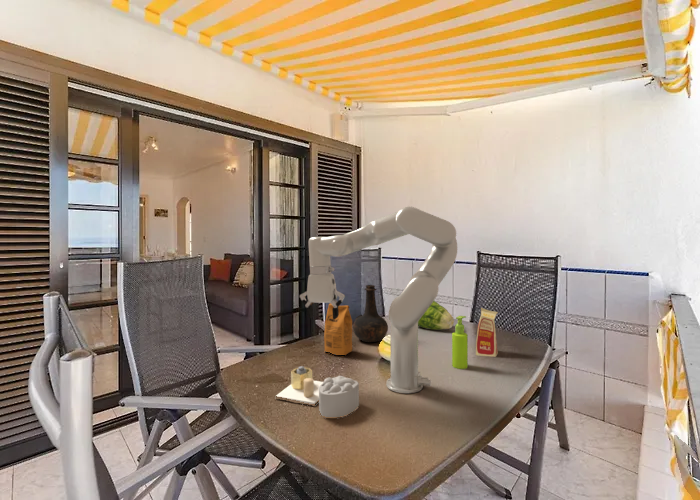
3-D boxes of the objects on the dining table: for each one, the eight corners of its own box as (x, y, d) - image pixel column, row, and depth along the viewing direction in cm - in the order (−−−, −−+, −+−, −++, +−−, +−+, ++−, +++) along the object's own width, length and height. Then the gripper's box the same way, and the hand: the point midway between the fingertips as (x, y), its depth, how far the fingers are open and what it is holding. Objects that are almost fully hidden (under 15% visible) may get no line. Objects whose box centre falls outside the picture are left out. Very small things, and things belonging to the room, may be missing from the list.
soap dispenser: (471, 365, 141) (471, 316, 140) (463, 370, 136) (463, 319, 135) (457, 361, 145) (457, 313, 144) (449, 366, 140) (449, 316, 139)
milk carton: (475, 355, 153) (475, 309, 152) (476, 348, 161) (476, 305, 161) (498, 357, 149) (498, 311, 149) (498, 350, 158) (498, 306, 157)
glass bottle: (365, 333, 190) (364, 281, 189) (394, 338, 179) (394, 284, 178) (345, 341, 175) (345, 285, 174) (376, 347, 165) (375, 288, 164)
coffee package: (334, 347, 166) (333, 301, 166) (355, 351, 159) (355, 303, 158) (320, 353, 158) (319, 304, 157) (342, 358, 151) (341, 307, 150)
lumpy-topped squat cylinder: (363, 404, 109) (362, 377, 109) (338, 423, 99) (337, 393, 98) (336, 396, 115) (336, 370, 115) (310, 413, 105) (310, 384, 104)
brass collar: (315, 382, 123) (314, 368, 123) (305, 390, 117) (305, 376, 117) (298, 380, 126) (297, 366, 125) (288, 387, 119) (287, 373, 119)
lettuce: (448, 343, 189) (441, 326, 179) (412, 328, 205) (404, 311, 195) (462, 320, 196) (456, 302, 187) (426, 307, 212) (419, 290, 203)
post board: (333, 386, 122) (333, 365, 122) (314, 406, 108) (313, 382, 108) (298, 381, 127) (298, 361, 127) (275, 399, 113) (275, 376, 113)
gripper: (346, 269, 127) (348, 316, 128) (303, 270, 133) (306, 315, 133) (339, 271, 120) (341, 321, 120) (294, 272, 125) (296, 319, 126)
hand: (323, 317), depth 127 cm, fingers open, 9 cm apart
